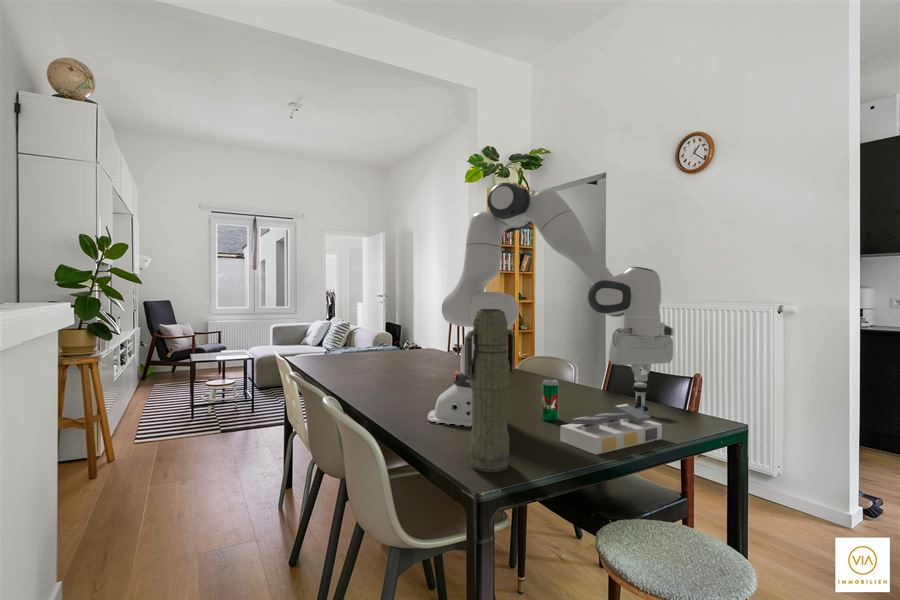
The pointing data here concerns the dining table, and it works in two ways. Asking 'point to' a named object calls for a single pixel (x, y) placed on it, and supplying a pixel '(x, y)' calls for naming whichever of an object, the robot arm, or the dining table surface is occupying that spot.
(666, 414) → the dining table surface
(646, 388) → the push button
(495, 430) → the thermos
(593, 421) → the left rocker
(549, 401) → the soda can
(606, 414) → the middle rocker
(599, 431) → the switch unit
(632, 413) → the right rocker
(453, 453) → the dining table surface
